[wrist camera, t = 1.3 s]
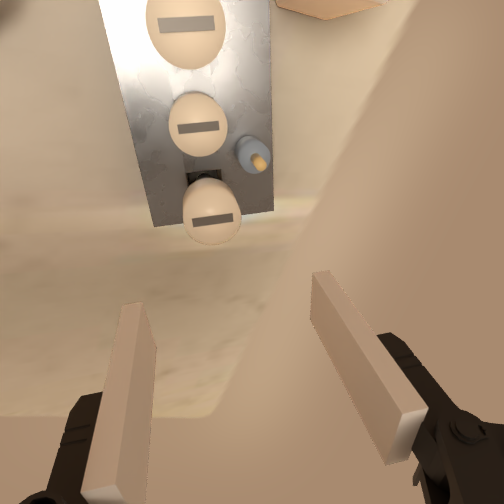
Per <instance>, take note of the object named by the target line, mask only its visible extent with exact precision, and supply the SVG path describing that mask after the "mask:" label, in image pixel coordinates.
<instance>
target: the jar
mask: <svg viewBox="0 0 504 504" xmlns="http://www.w3.org/2000/svg"><path fill="white" fill-rule="evenodd" d="M275 1H276V4H277V6H279V7H282V8H285V9H289V10H292V11H296V12H299V13H302V14H306V15H309V16H313V17H316V18H319V19H323V20H329V19H333V18H336V17H340V16H344V15H347V14H351V13H355V12H358V11H362V10H366V9H369V8H373V7H377V6H380V5H384V4H386V3H387V2H388V1H389V0H275Z"/></svg>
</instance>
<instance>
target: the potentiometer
mask: <svg viewBox="0 0 504 504" xmlns="http://www.w3.org/2000/svg"><path fill="white" fill-rule="evenodd" d="M235 155H236V157H237V159H238V161H239V162H240V164H241V166H242V167H243V169H244V170H245V171H247V172H248V173H252V174H257V173H260V172H262V171H264V170H265V169H266V168H267V167H268V165H269V163H270V159H271V156H270V151H269V149H268V148H267V147H266V146H265V145H264V144H263V143H262V142H261V141H260V140H259V139H258V138H256V137H254V136H245V137H243V138H241V139H240V140H239V141H238V143H237V144H236V147H235Z"/></svg>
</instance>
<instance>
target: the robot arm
mask: <svg viewBox="0 0 504 504" xmlns="http://www.w3.org/2000/svg"><path fill="white" fill-rule="evenodd" d="M310 320H311V322H312V324H313V326H314V328H315V330H316V332H317V334H318V336H319V338H320V340H321V342H322V343H323V345H324V347H325V349H326V351H327V353H328V355H329V357H330V359H331V361H332V363H333V365H334V367H335V369H336V371H337V373H338V375H339V377H340V378H341V380H342V382H343V384H344V386H345V388H346V390H347V392H348V394H349V396H350V398H351V400H352V402H353V404H354V406H355V408H356V410H357V412H358V414H359V416H360V417H361V419H362V421H363V423H364V425H365V427H366V429H367V431H368V433H369V435H370V437H371V439H372V441H373V443H374V445H375V447H376V449H377V451H378V452H379V454H380V456H381V458H382V460H383V462H384V464H385V465H390V464H394V463H397V462H401V461H405V460H408V458H409V456H410V453H411V451H413V453H414V454H415V456H416V458H417V459H418V461H419V464H418V467H417V469H416V471H415V473H414V476H413V486H417V485H418V483H419V481H420V482H421V486H422V491H423V494H424V499H425V503H426V504H504V424H494V423H488V422H483V421H481V420H480V419H479V418H478V417H476V416H474V415H473V414H471V413H469V412H467V411H464V410H460V409H459V408H458V407H457V406H456V405H455V404H454V403H453V402H452V401H451V399H450V398H449V397H448V395H447V394H446V393H445V392H444V391H443V389H442V388H441V387H440V386H439V384H438V383H437V382H436V381H435V379H434V378H433V377H432V376H431V374H430V373H429V372H428V371H427V369H426V368H425V367H424V366H422V363H421V362H420V361H419V360H418V359H417V357H416V356H414V354H413V352H412V351H411V350H410V348H409V347H408V346H407V345H406V343H405V342H404V341H402V340H401V339H400V338H398V337H397V336H395V335H394V334H392V333H385V334H380V335H376V334H375V333H374V332H373V330H372V329H371V327H370V326H369V325H368V323H367V322H366V321H365V319H364V318H363V316H362V315H361V314H360V312H359V311H358V310H357V308H356V307H355V305H354V304H353V303H352V301H351V300H350V298H349V297H348V296H347V294H346V293H345V292H344V290H343V289H342V288H341V286H340V285H339V283H338V282H337V281H336V279H335V278H334V276H333V275H332V274H331V272H330V271H329V270H327V271H321V272H316V273H313V274H312V292H311V310H310ZM156 349H157V348H156V345H155V342H154V338H153V335H152V332H151V329H150V326H149V322H148V319H147V316H146V313H145V310H144V306H143V303H142V302H137V303H131V304H125V305H122V310H121V314H120V318H119V323H118V327H117V332H116V336H115V341H114V345H113V350H112V354H111V359H110V363H109V367H108V372H107V376H106V381H105V385H104V390H103V392H99V393H94V394H89V395H84V396H81V397H80V398H79V400H78V401H77V403H76V404H75V406H74V407H73V408H72V410H71V411H70V413H69V417H68V420H67V423H66V427H65V433H63V436H62V439H61V443H60V448H59V449H58V453H57V456H56V459H55V463H54V466H53V469H52V473H51V475H50V479H49V482H48V485H47V489H46V491H40V492H38V493H35V494H33V495H31V496H29V497H27V498H26V499H25V500H23V501H22V502H21V503H19V504H145V500H146V486H147V473H148V459H149V445H150V431H151V418H152V404H153V390H154V376H155V362H156Z"/></svg>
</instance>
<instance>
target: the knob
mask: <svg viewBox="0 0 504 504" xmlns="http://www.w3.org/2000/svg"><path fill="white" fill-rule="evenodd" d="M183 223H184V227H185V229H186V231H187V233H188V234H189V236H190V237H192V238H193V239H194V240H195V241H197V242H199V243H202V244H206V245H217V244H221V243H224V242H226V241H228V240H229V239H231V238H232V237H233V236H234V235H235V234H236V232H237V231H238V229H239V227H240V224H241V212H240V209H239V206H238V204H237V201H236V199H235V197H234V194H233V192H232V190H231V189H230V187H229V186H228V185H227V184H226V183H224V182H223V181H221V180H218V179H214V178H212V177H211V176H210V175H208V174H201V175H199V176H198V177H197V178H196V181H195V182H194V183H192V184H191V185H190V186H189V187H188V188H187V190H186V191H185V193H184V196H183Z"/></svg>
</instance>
